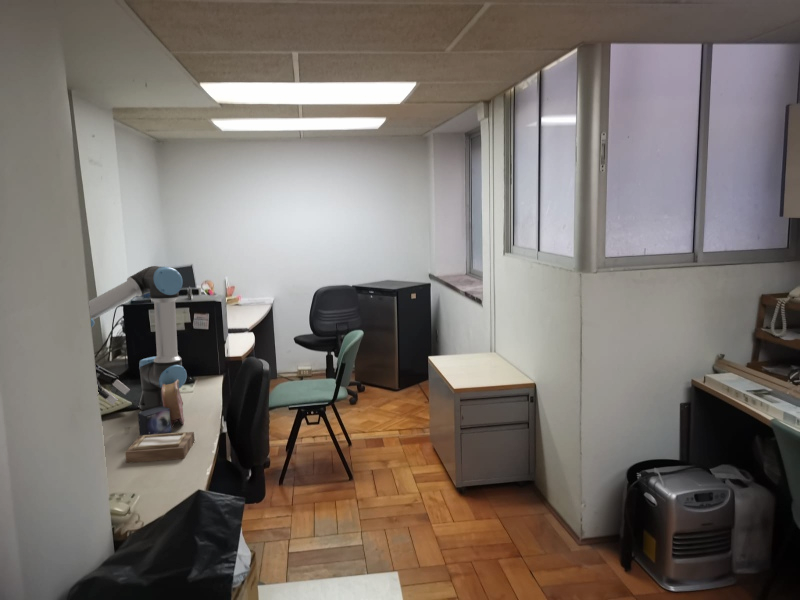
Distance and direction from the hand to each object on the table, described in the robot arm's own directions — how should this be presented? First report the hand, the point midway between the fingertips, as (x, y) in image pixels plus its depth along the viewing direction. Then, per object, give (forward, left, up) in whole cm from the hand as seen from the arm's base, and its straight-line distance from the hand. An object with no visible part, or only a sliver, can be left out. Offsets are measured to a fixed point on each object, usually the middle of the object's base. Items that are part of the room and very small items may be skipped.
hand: (121, 397), depth 237 cm
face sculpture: (-14, +16, -17) cm, 27 cm away
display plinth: (+19, +19, -16) cm, 31 cm away
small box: (+1, +12, -17) cm, 20 cm away
